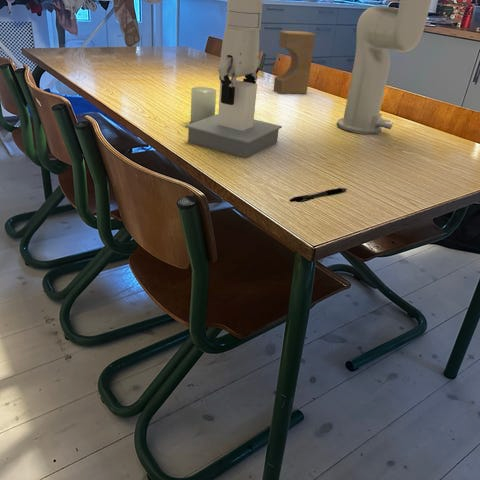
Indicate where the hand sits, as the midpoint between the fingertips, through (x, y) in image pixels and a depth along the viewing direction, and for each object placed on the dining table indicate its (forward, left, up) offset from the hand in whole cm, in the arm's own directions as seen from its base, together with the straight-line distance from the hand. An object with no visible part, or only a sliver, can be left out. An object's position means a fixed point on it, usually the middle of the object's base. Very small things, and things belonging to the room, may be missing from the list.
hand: (238, 100), depth 113 cm
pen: (-29, +17, -11) cm, 36 cm away
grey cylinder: (+14, -7, -10) cm, 19 cm away
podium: (0, 0, -10) cm, 10 cm away
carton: (0, 0, -6) cm, 6 cm away
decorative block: (+14, -63, -10) cm, 65 cm away
